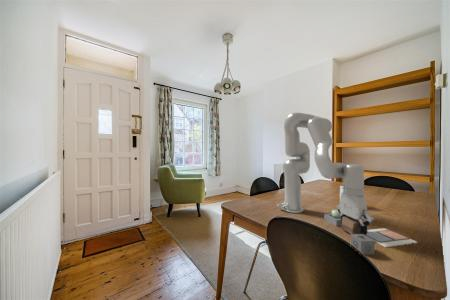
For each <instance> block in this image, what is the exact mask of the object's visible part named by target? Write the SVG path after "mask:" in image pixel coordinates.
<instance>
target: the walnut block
mask: <svg viewBox="0 0 450 300" xmlns="http://www.w3.org/2000/svg"><path fill="white" fill-rule="evenodd" d="M360 225H361V224H360V222H359V220H356V219H354V218H351V217H349V216H345V217H342V225H341V226H340V228H341V229H343V230H344V231H345V232H347V233H349V234H350V235H351V234H360Z"/></svg>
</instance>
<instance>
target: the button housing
mask: <svg viewBox="0 0 450 300" xmlns="http://www.w3.org/2000/svg"><path fill="white" fill-rule="evenodd" d="M323 219H324V221H326V222H328V223H330V224H331V225H334V226H335V227H341V219H336V218H334V217H332V213H324V214H323Z"/></svg>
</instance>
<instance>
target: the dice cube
mask: <svg viewBox="0 0 450 300" xmlns="http://www.w3.org/2000/svg"><path fill="white" fill-rule="evenodd" d="M375 243H376V242H375V241H374V240H372V239H370V238H369V237H367V236H365V235H364V234H350V245H351V244H352V245H354V246H355V247H356V248H357V249H359V250H360V251H361V252H362V253H363V254H365V255H375V250H376V249H375V247H376V246H375Z"/></svg>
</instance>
